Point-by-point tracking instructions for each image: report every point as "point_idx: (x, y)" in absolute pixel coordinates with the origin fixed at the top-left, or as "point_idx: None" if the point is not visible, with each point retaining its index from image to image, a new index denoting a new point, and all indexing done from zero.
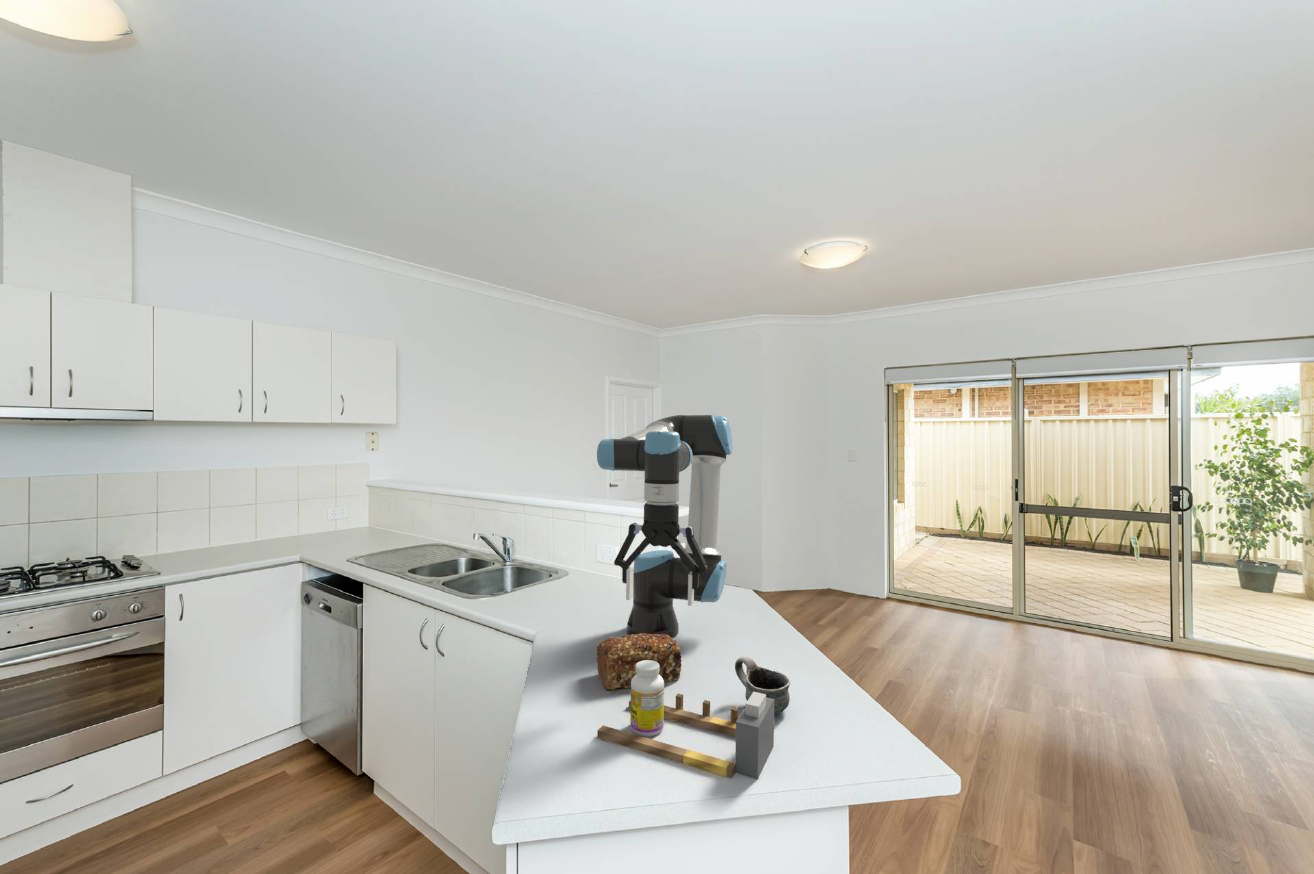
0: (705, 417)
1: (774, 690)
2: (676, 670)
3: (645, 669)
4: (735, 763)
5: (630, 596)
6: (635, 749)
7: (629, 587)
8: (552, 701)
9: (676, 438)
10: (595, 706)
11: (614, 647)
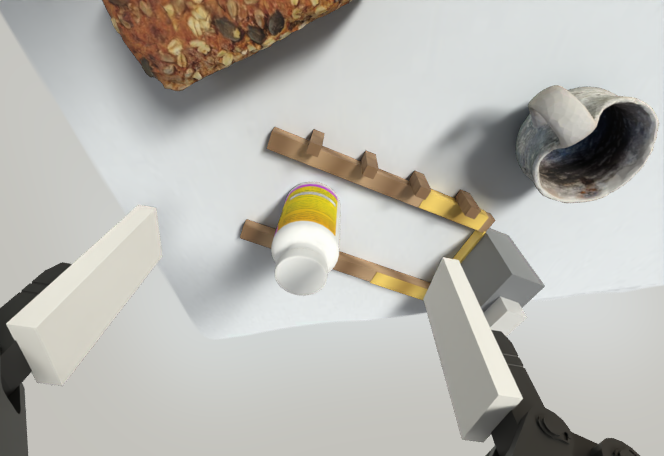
0: None
1: (578, 202)
2: None
3: (299, 293)
4: None
5: (154, 251)
6: None
7: (129, 296)
8: (112, 127)
9: None
10: (203, 140)
11: (166, 63)
